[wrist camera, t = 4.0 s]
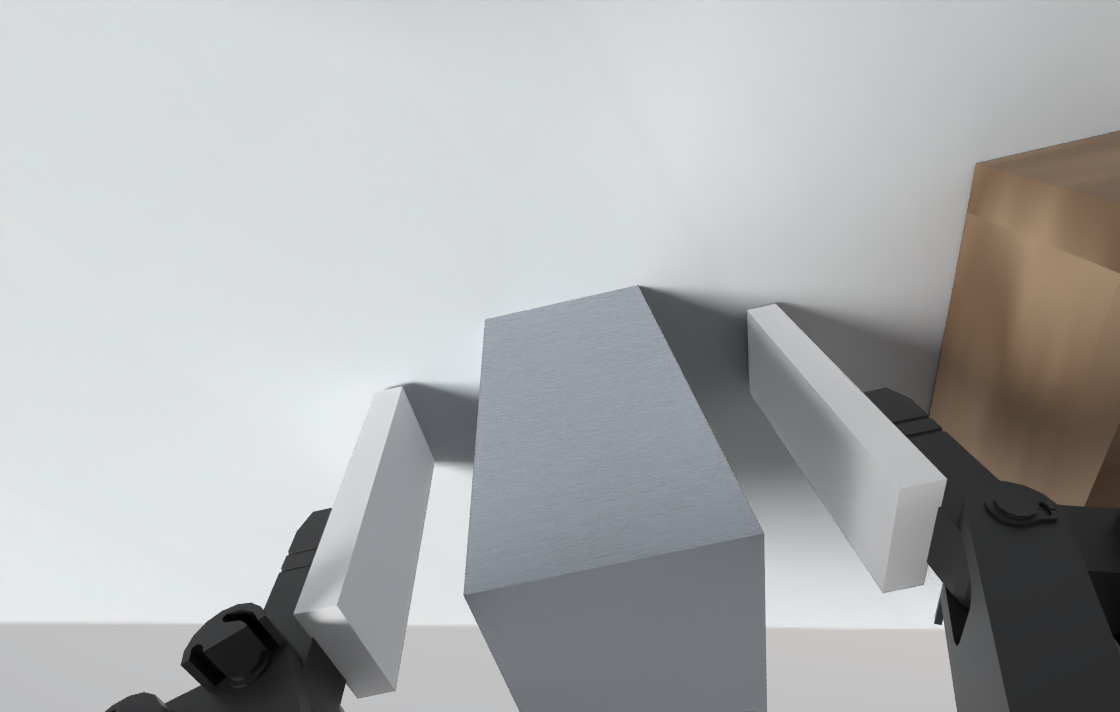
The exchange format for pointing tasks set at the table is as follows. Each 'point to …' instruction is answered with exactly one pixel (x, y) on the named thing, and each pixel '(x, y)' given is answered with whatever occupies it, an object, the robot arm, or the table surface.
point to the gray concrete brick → (609, 522)
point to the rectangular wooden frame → (1039, 323)
